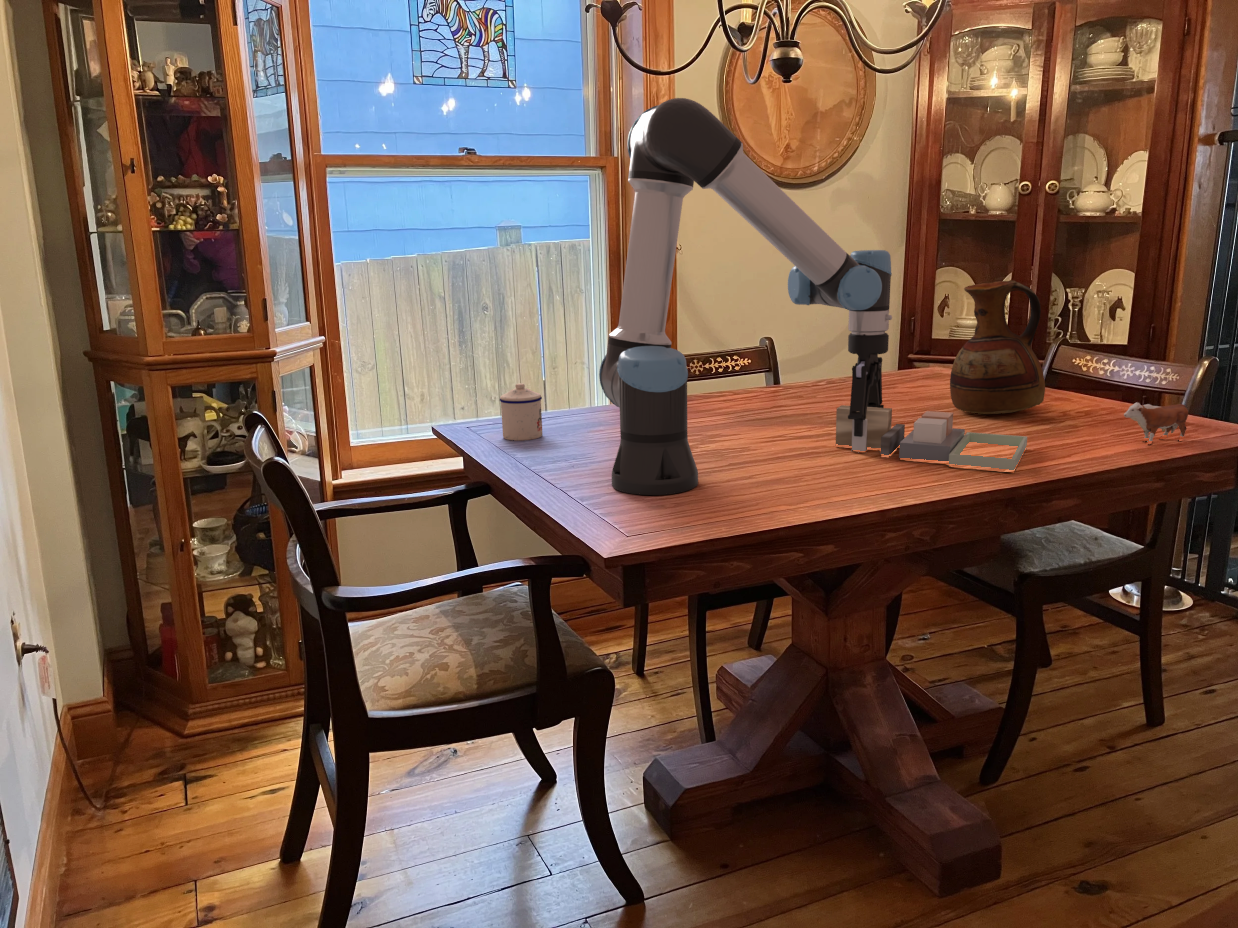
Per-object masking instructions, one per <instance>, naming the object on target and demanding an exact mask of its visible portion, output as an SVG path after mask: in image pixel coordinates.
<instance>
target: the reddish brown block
mask: <svg viewBox="0 0 1238 928" xmlns="http://www.w3.org/2000/svg"><path fill="white" fill-rule="evenodd" d="M921 418H930V419H945V420H947V426H946V436H948V435H949V434H950V433H951V431H952V428H954V427H953V424H954V412H946V411H945V412H944V411H932V410H931V411H929V410H926V411H925V412H924V413H923V414H921Z"/></svg>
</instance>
